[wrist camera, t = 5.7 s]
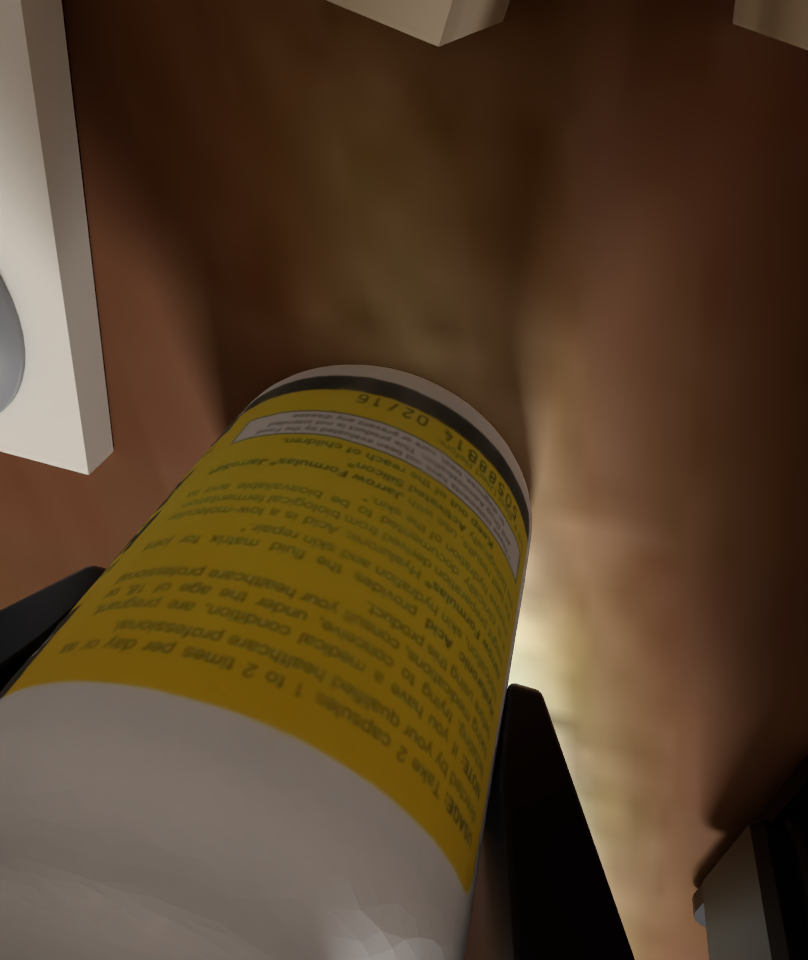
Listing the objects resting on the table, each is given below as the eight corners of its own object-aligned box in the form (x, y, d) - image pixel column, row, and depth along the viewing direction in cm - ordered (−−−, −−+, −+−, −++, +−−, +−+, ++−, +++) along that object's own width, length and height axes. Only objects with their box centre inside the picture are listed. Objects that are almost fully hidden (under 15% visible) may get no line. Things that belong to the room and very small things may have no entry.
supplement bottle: (216, 328, 11) (-636, 1088, 4) (562, 382, 11) (429, 1517, 3) (241, 580, 15) (-187, 1280, 7) (509, 637, 14) (377, 1509, 6)
